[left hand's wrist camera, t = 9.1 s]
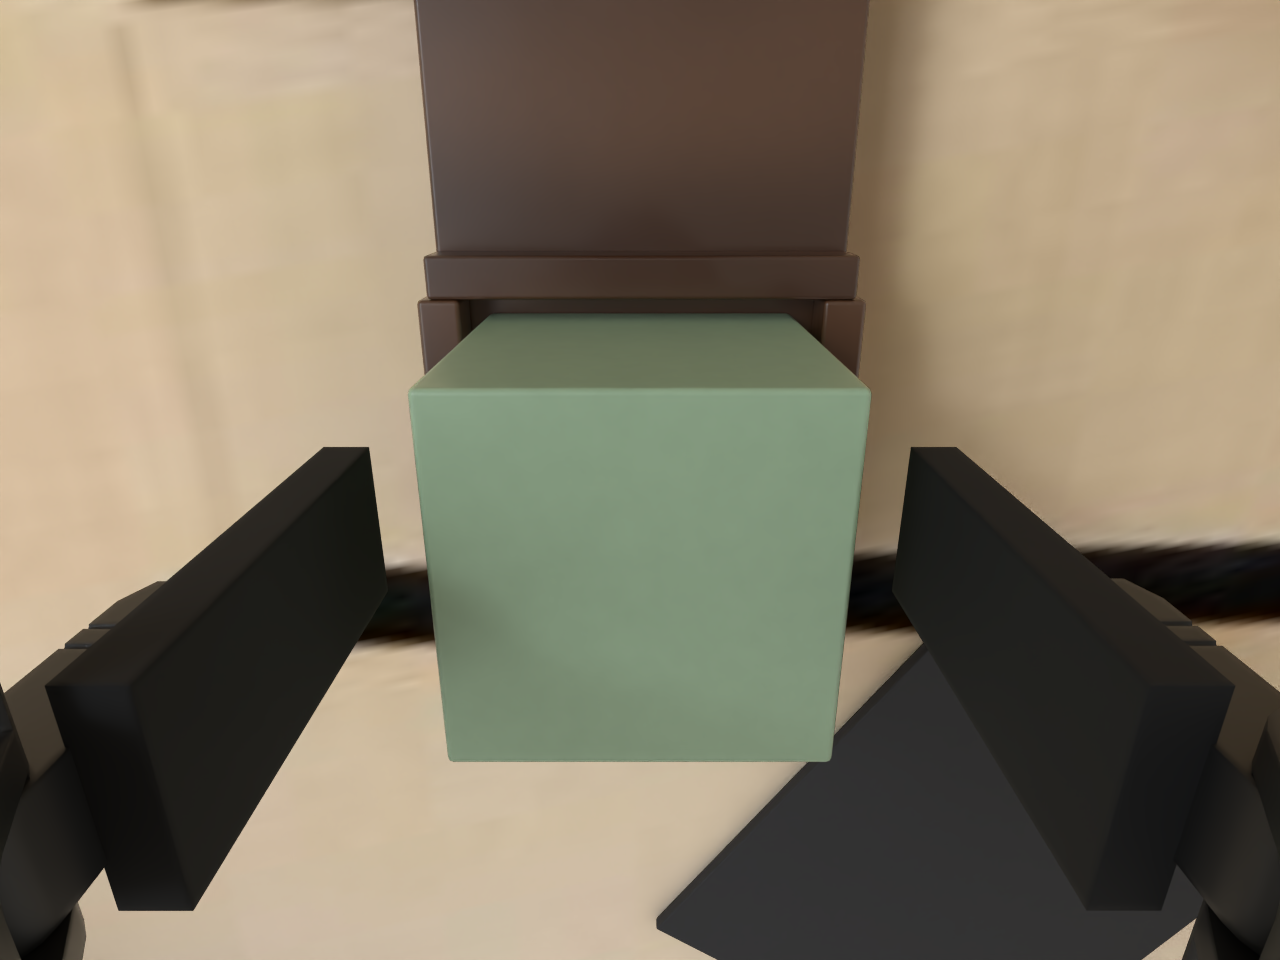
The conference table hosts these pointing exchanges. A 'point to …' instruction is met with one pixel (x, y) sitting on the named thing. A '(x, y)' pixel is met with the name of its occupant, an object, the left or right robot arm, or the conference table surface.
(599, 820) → the conference table surface
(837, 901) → the rubber mat
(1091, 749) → the left robot arm
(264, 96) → the conference table surface
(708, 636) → the green block
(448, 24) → the walnut board
